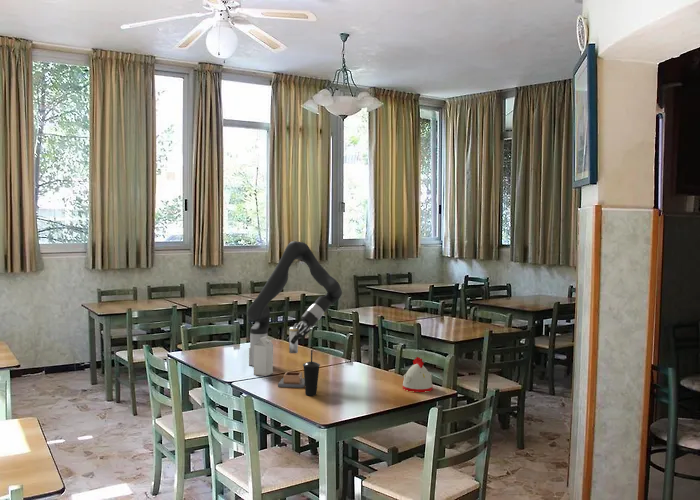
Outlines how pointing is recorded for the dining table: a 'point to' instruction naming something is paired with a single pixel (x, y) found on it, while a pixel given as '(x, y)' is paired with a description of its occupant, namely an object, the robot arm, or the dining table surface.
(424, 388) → the kitchen timer
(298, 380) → the collar plate
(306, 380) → the drinking cup
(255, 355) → the milk carton
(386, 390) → the dining table surface
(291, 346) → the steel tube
